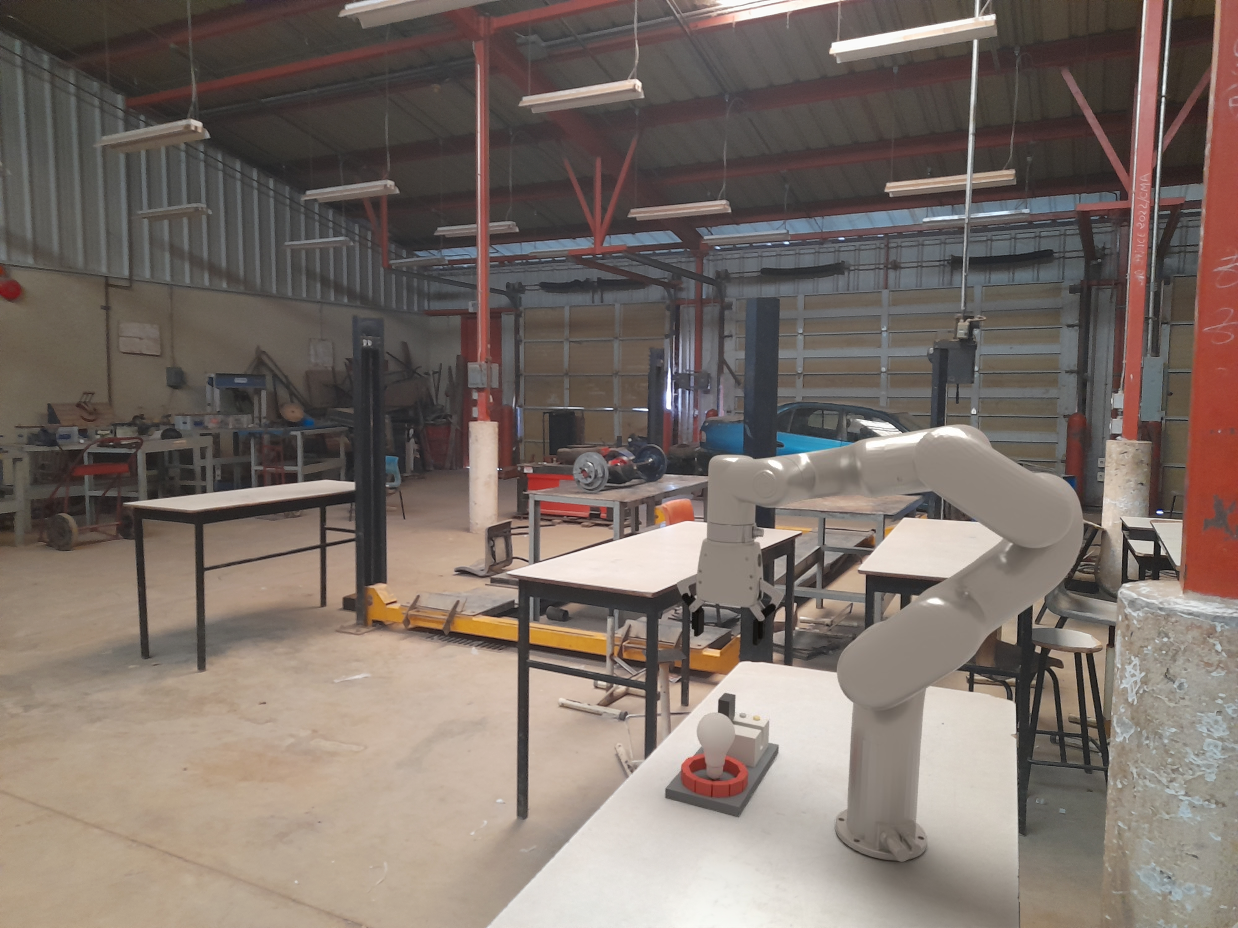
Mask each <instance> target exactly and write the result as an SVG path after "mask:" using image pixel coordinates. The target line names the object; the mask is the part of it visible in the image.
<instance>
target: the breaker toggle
mask: <svg viewBox="0 0 1238 928" xmlns="http://www.w3.org/2000/svg"><path fill="white" fill-rule="evenodd" d="M736 698H737V695H736V694H734V693H733V694H732V693H728V692H724V693H723V694H722V695H721V696H720V697H719V698H718V699H717V701H718V702H717V713H721V714H724V715H725V716H727V717H728V718H729V719H730V720H731V721H732V719H733V718H734V717H735V712H736Z"/></svg>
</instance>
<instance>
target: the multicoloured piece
mask: <svg viewBox="0 0 1238 928" xmlns="http://www.w3.org/2000/svg"><path fill="white" fill-rule="evenodd" d="M731 722H732V723H733V725H734V729H735V738H734V741H733V743H732V745H731V746H730V748H729V749H728V751H727V754H726V757H725V763H724V765H723V773H722V776H721V777H720V778H718V779H716V780H714V779H712V778H710V777H709V776H708V775H707V767H706V766H707V764H706V762H705V754H704V750H703V748H702V746H701V745H700V747H699V748H698V750H697V751H696V752H695V753H694V754H693V755H692V756H689V757H687V758H686V759H685V760H684V761H683V762H682V764H681V766H680V771H679V772H678V773H677V774H676V775H675V777H674V778H673V779H672V780H671V781H670V782H669V784H667V786H666V787H665V789H664V791H665V793H664V798H666V799H670V800H673V801H677V802H681V803H686V804H689V805H692V806H697V807H701V808H703V809H708V810H710V811H711V810H712V811H715V812H719V813H723V814H727V815H731V816H733V817H734V816H735V817H739V816H740V815H741V813H742V812H743V811H744V809H745V807H746V806H747V804H748V802H749V801H750V799H751V798H752V796H753V794H754V793H755V791H756V790H757V788H758V786H759V785H760V784H761V782H762V780H763V778H764V777H765V775H766V774H767V772H768V770H769V769H770V767H771V766H772V764H773V762H774V761H775V759H776V757H777V756H778V754H779V751H780V750H779V748H780V744H777V743H772V742H769V741H770V739H769V738H770V737H769V735H770V718H766V717H761V716H759V715H751V714H747V713H744V712H737V711H735V717H734V718H733V719H732V721H731Z"/></svg>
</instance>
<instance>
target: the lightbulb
mask: <svg viewBox="0 0 1238 928" xmlns="http://www.w3.org/2000/svg"><path fill="white" fill-rule="evenodd" d="M696 737H697V740H698V741H699V744H700V747H701V746H702V748H703V750H704V754H705V762H706V764H707V766H706V767H707V775H708V776H709V777H710V778H712V779H714V780H716V779H718V778H720V777H721V776H722V773H723V765H724V763H725V757H726V754H727V751H728V749H729V748H730V746H731V745H732V743H733V741H734V738H735V729H734V725H733V723H732V722H731V720H730V719H729V718H728V717H727V716H725V715H724V714H721V713H718V711H717V712H716V711H715V712H713V711H712V712H710V713H707V714H705V715H704V716H702V718H701V719H700V720H699V721H698V724H697V726H696Z"/></svg>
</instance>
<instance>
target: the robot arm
mask: <svg viewBox="0 0 1238 928" xmlns="http://www.w3.org/2000/svg"><path fill="white" fill-rule="evenodd" d="M707 475H708V476H707V478H708V479H707V480H708V481H707V510H706V511H707V512H706V515H707V516H706V517H707V518H706V537H705V538H704V539H703V540H702V543H701V547H700V551H699V557H698V563H697V572H696V573H695V574H692V575H690V576H688V577H685V578H682V579H680V580H679V581H677V582H676V587H677V589H678V591H679V594H680V595H681V599H682V601H683V602H684V603H685V604H686V605H687V607H688V610H689V611H690V612H691V625H690V626H691V630H693V636H694V637H696V638H699V637H700V635H702V634H703V633H704V632H705V609H704V608H703V605H704V604H706V603H709V604H717V605H723V606H724V605H725V606H733V607H740V608H749V610H750V611H751V613H752V614H753V615H754V616H755V619H754V620H753V622H752V645H753V646H756V647H757V646H759V644H761V642H762V640H764V639H766V638H765V637H766V621H767V620H766V618H768V617H769V616H770V615H771V614H772V613H774V612H775V611H776V610H777V609H778V607H779V605H780V604H781V601H782V600H783V599H784V596H785V593H784V592H783V591H781V590H779V589H778V588H777V587H775V586H773V585H772V584H770V583H769V582H767V581H766V580H764V567H763V556H762V549H761V543H760V542H759V541H755V540H756V539H757V538H764V536H765V535H764V534H765V530H764V529H765V528H761V527H758V526H757V522H756V506H759V507H763V508H771V509H772V508H781V507H783V506H787V505H790V504H794V503H798V502H801V501H807V500H815V499H823V498H830V497H831V498H832V497H840V496H861V497H863V498H867V499H868V498H869V499H870V498H871V499H877V498H884V497H886V498H887V497H893V496H900V495H902V496H903V495H909V494H918V493H926V492H933V493H935V494H936V495H937V496H939V497H940V498H942V499H943V500H945V502H947V503H949V504H950V505H951V506H952V507H954V508H956V509H957V510H959V511H961V512H962V513H964V514H966V515H967V516H969V517H970V518H971V519H973V520H974V521H976V522H978V523H979V524H981V525H982V526H984V527H985V528H987V529H988V530H990V531H991V532H993V533H994V534H995V535H997V536H998V537H1000V538H1002V539H1001V540H1000V541H999V542H998V543H996V544H995V545H993V547H991V548H990V549H989V550H987V551H985V552H984V553H983V554H981V555H979V557H977V558H976V559H975V560H973V561H972V562H971V563H970V564H968V565H966V566H964V567H963V568H962V569H960V570H959V571H957V572H956V573H954V574H953V575H951V576H950V577H948V578H946V579H945V580H942V581H941V582H939V583H937V584H935V585H933V586H931V587H929V588H927V589H926V590H924V591H923V592H922V593H920V594H919V595H918V596H917V597H916V598H915V599H914V600H913V601H911V602H910V603H909V604H907V605H905V607H903V608H901V609H900V610H899V611H897V612H896V613H895V614H893V615H891V616H890V617H889V618H887V619H885V620H882V621H878V622H876V623H874V624H872V625H870V626H869V627H867V628H866V629H864V630H863V631H862V632H861V633H860V634H859V635H857V637H856V638H855V639H854V640H852V641H851V642H850V643H849V644H848V645H847V646H846V647H845V648H844V650H843V651H842V652H841V654H840V656H839V659H838V661H837V665H836V677H837V682H838V685H839V687H840V690H841V691H842V693H843V694H844V696H845V697H846V698H847V699H848V700H849V701H850V702H851V703H852V714H851V727H850V728H851V729H850V742H849V743H850V744H849V745H850V746H849V747H850V748H849V762H848V763H849V764H848V786H847V787H848V788H847V800H846V801H847V805H846V806H847V807H846V809H844V810H842V811H841V812H839V814H838V815H837V816H836V818H835V822H834V823H835V824H834V825H835V827H834V828H835V832H836V834H837V836H838V838H839V839H840V840H841V842H843V843H844V844H845V845H847V846H848V847H849V848H851V849H852V850H853V851H856V852H858V853H860V854H862V855H865V856H869V857H871V858H874V859H875V858H876V859H879V860H886V861H898V862H902V863H903V862H906V861H907V860H912V859H915V858H917V857H919V856H921V855H922V854H923V853H924V852H925V850H926V849H927V845H928V843H927V842H928V838H927V837H928V836H927V834H926V832H925V830H924V829H923V827H922V826H921V825H919V823H918V822H917V816H918V815H917V813H918V797H919V795H918V794H919V778H920V762H921V761H920V760H921V749H922V748H921V747H922V746H921V745H922V736H923V735H922V734H923V720H924V719H923V718H924V707H925V700H926V691H927V688H929V687H931V686H933V685H934V684H936V683H938V682H939V681H941V680H942V679H944V678H945V677H947V676H949V675H950V674H952V673H954V672H956V671H957V670H958V669H960V668H961V667H962V666H963V665H965V664H966V663H967V662H969V661H970V660H971V659H972V658H973V657H974V656H975V655H976V653H977V652H978V650H979V649H980V647H981V646H982V644H983V643H984V642H985V640H986V639H987V637H988V636H990V635H991V634H992V633H993V632H995V631H996V630H997V629H998V628H1000V627H1002V626H1004V624H1006V623H1008V622H1009V621H1011V620H1012V619H1014V618H1016V617H1017V616H1018V615H1020V614H1021V613H1022V612H1024V611H1025V610H1027V609H1028V608H1030V607H1031V606H1033V605H1034V604H1036V603H1037V602H1038V601H1040V600H1041V599H1043V598H1044V597H1046V596H1047V595H1048V594H1049V593H1051V592H1052V591H1053V590H1054V589H1055V588H1056V587H1057V586H1058V585H1060V583H1062V581H1064V579H1065V578H1066V576H1067V575H1068V574H1069V572H1070V571H1071V570H1072V567H1073V566H1074V564H1075V563H1076V561H1077V558H1078V557H1079V554H1080V551H1081V548H1082V544H1083V540H1084V531H1085V530H1084V528H1085V526H1084V516H1083V509H1082V506H1081V502H1080V499H1079V497H1078V495H1077V492H1076V491H1075V490H1074V488H1073V487H1072V486H1071V484H1070V483H1069V482H1068V481H1066V480H1065V479H1064V478H1062V477H1060V476H1058V475H1055V474H1052V473H1046V472H1033V471H1031V470H1029V469H1027V468H1026V467H1025V466H1023V465H1020V464H1019V463H1018V462H1015V461H1014V460H1012V459H1010V458H1009V457H1007V456H1005V455H1004V454H1002V453H1000V452H999V451H998V450H996V449H995V448H993V446H992V444H991V442H990V440H989V438H988V437H987V436H986V435H985V434H984V432H983V431H982V430H980V429H979V428H977V427H974V426H973V425H968V424H958V423H957V424H949V425H943V426H939V427H932V428H926V429H920V430H914V431H907V432H903V433H895V434H894V433H893V434H889V435H881V436H874V437H869V438H863V439H860V440H858V441H855V442H853V443H851V444H848V445H844V446H843V445H842V446H840V447H839V446H838V447H833V448H828V449H827V448H825V449H820V450H814V451H813V450H812V451H808V452H807V451H806V452H801V453H799V452H798V453H794V454H793V453H792V454H786V455H777V456H772V457H765V458H756V459H755V458H753V457H751V456H749V455H743V454H720V455H719V454H718V455H714V456H713V457H712V458H710V460H709V463H708V474H707ZM694 584H695V594H696V597H695V596H694V595H693V593H692V592H691V591H690V588H689V586H692V585H694ZM764 593H765V594H767V595H768V596H770V597H771V600H770V602H769V604H768V605H766V606H764V604H763V603H762V601H761V600H762V599H763V597H764Z"/></svg>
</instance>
